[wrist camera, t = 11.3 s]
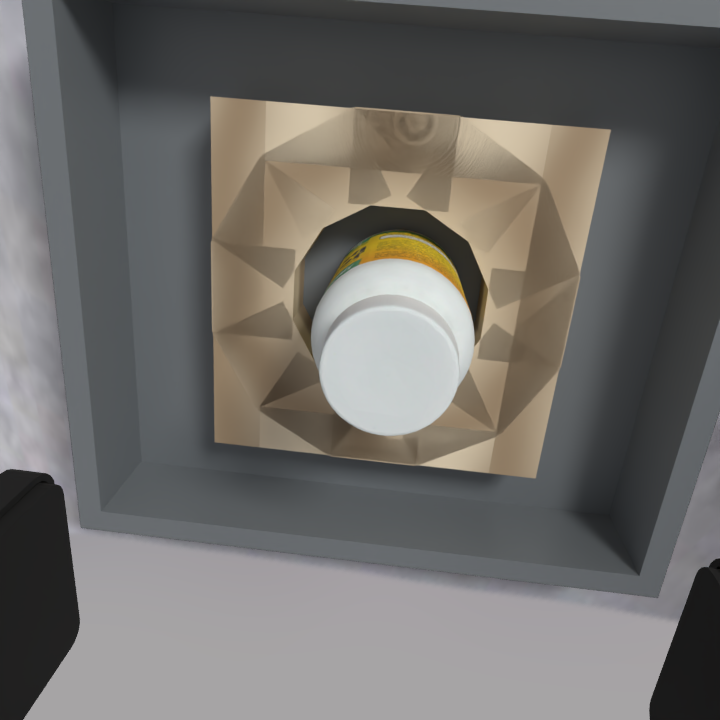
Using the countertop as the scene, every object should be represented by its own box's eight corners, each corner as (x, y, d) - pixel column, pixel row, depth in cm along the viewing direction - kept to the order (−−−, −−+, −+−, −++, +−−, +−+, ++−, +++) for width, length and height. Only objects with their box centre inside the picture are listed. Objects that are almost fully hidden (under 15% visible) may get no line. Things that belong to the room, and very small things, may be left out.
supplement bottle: (433, 365, 27) (441, 483, 18) (319, 325, 27) (271, 425, 18) (480, 251, 25) (516, 322, 16) (358, 207, 25) (326, 254, 16)
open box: (763, 23, 22) (856, -3, 17) (620, 524, 30) (657, 597, 26) (94, -26, 23) (14, -63, 19) (130, 467, 31) (80, 527, 27)
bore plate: (593, 127, 23) (612, 128, 21) (526, 451, 28) (536, 479, 26) (228, 97, 24) (208, 94, 21) (229, 418, 29) (213, 443, 27)
